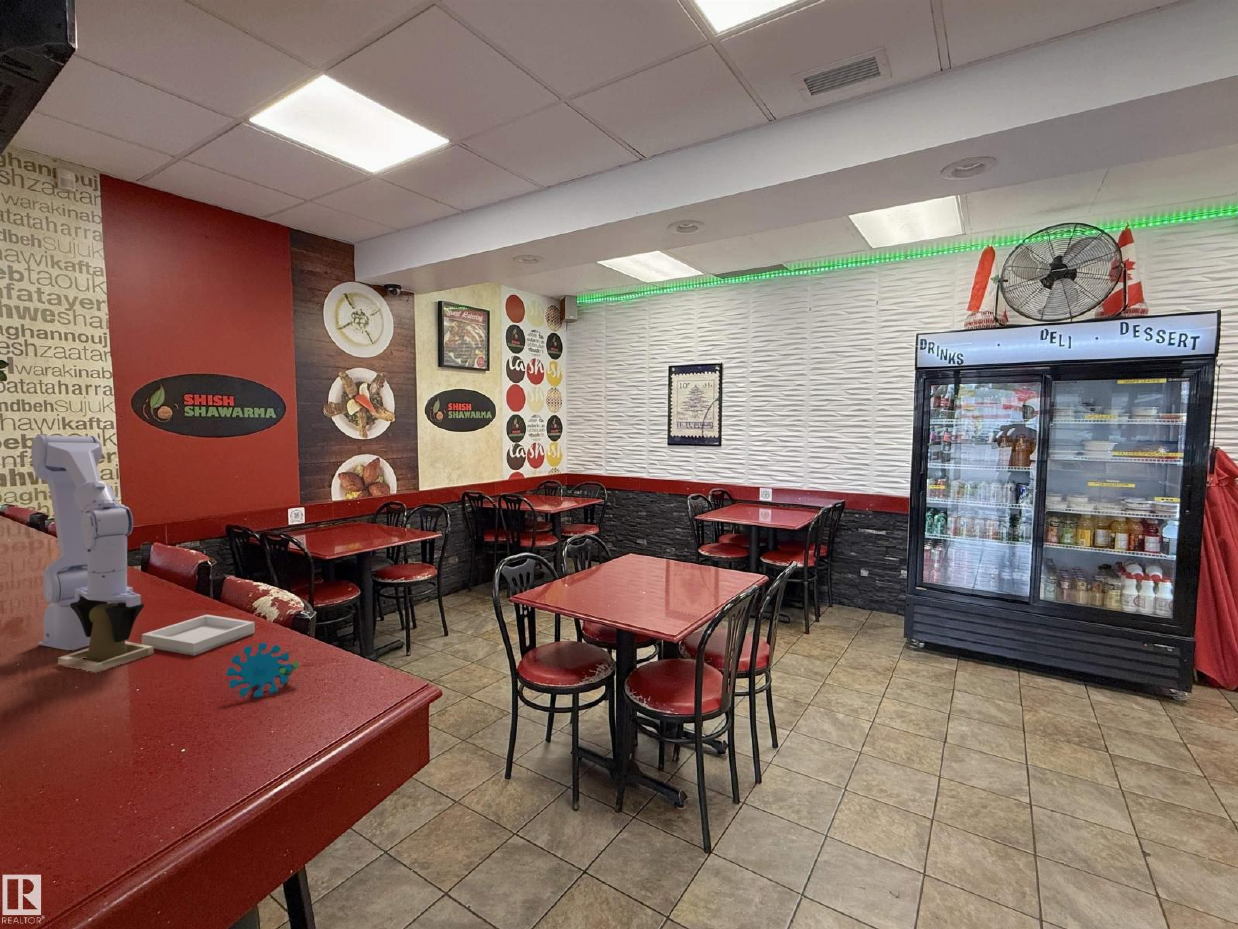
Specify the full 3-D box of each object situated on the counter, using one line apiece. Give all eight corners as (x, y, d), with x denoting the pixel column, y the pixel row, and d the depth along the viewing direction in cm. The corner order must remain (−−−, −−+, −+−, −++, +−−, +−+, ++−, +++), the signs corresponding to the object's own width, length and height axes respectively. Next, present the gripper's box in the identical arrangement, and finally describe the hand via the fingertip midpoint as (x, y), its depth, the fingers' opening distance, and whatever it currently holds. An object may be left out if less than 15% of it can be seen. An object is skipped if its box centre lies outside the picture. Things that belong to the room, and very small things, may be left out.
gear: (223, 697, 93) (231, 642, 99) (219, 712, 97) (226, 657, 103) (298, 692, 100) (301, 640, 106) (291, 705, 103) (294, 654, 109)
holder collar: (57, 665, 106) (57, 657, 106) (116, 646, 115) (116, 639, 115) (96, 673, 103) (96, 665, 103) (153, 653, 113) (153, 646, 113)
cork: (102, 667, 106) (102, 610, 105) (77, 663, 107) (77, 607, 106) (135, 655, 112) (136, 601, 111) (111, 651, 113) (112, 598, 112)
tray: (141, 646, 116) (141, 634, 116) (206, 625, 130) (206, 614, 130) (193, 655, 113) (193, 643, 113) (254, 633, 126) (254, 622, 126)
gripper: (157, 568, 111) (157, 636, 111) (103, 561, 114) (103, 626, 115) (117, 577, 104) (117, 648, 104) (61, 569, 107) (62, 638, 108)
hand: (107, 638), depth 109 cm, fingers open, 7 cm apart
